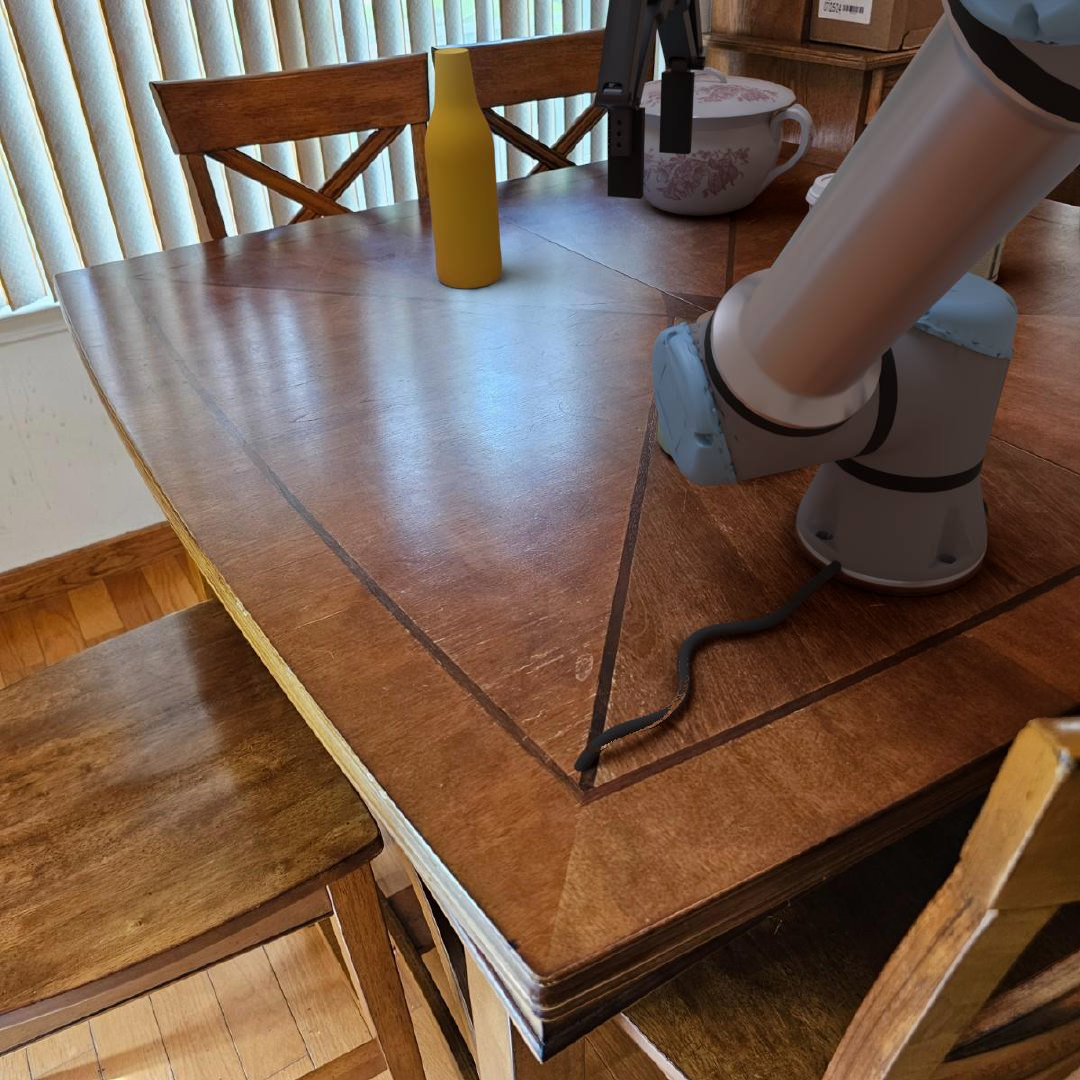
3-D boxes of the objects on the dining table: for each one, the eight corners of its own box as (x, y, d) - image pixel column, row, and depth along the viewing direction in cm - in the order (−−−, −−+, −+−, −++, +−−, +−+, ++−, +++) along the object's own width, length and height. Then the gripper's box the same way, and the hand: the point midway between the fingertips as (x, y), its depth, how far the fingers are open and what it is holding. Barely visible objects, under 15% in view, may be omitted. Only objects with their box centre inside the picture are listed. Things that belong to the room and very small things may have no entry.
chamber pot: (592, 192, 170) (591, 61, 158) (737, 173, 176) (746, 45, 164) (656, 242, 148) (660, 93, 136) (819, 217, 154) (836, 73, 142)
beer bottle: (429, 272, 141) (406, 49, 124) (491, 262, 144) (475, 41, 127) (447, 294, 134) (425, 60, 117) (512, 283, 136) (498, 52, 120)
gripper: (660, -139, 80) (653, 134, 93) (543, -126, 62) (553, 214, 74) (751, -143, 78) (732, 139, 90) (657, -130, 59) (649, 222, 72)
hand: (651, 173), depth 82 cm, fingers open, 13 cm apart
